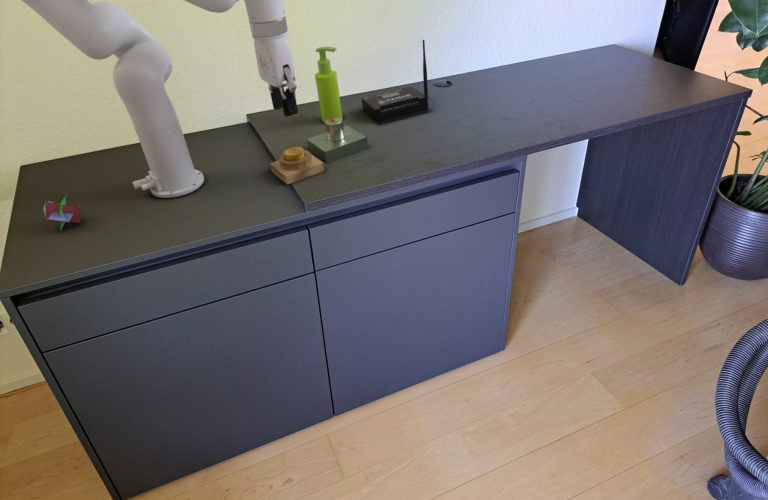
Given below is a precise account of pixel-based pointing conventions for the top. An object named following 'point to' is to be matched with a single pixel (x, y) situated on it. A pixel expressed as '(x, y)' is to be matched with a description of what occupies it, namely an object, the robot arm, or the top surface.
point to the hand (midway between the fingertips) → (285, 110)
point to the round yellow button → (294, 154)
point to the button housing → (296, 168)
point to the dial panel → (337, 145)
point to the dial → (334, 129)
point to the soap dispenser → (327, 87)
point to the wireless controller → (398, 102)
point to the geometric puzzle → (62, 212)
